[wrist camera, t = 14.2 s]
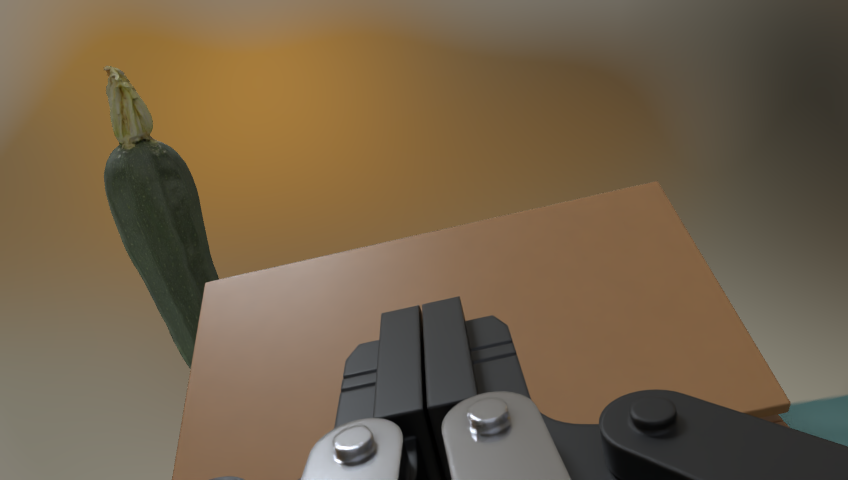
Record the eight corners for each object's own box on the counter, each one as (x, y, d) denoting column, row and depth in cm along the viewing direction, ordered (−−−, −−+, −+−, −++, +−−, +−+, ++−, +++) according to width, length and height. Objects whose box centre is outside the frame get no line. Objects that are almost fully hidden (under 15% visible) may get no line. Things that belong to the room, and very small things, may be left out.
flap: (657, 189, 22) (658, 180, 22) (788, 412, 16) (791, 403, 16) (209, 290, 23) (204, 282, 22) (169, 541, 17) (162, 533, 16)
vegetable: (263, 424, 38) (132, 58, 31) (186, 442, 38) (39, 81, 31) (274, 382, 42) (160, 52, 36) (205, 399, 42) (79, 72, 36)
